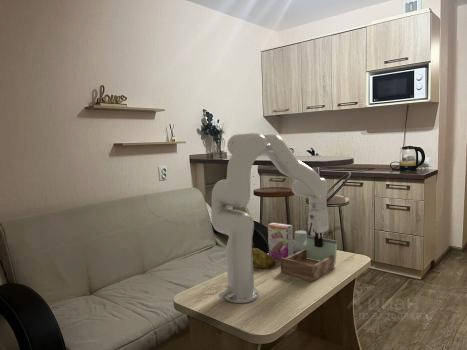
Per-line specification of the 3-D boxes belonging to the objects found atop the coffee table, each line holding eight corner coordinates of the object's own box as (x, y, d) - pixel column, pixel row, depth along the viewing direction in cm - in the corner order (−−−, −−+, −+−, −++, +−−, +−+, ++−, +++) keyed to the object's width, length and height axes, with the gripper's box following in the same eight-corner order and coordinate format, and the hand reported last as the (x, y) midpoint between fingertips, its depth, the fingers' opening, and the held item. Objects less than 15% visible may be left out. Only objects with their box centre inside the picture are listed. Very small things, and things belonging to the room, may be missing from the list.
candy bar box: (268, 257, 165) (266, 224, 163) (274, 254, 169) (272, 222, 167) (288, 262, 158) (287, 227, 156) (294, 259, 162) (292, 224, 160)
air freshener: (301, 256, 165) (301, 235, 164) (287, 252, 171) (287, 233, 170) (314, 250, 172) (313, 230, 171) (300, 247, 178) (300, 228, 177)
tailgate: (334, 264, 148) (336, 241, 149) (305, 257, 159) (306, 235, 159) (335, 264, 149) (337, 241, 150) (306, 257, 159) (308, 235, 160)
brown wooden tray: (311, 281, 135) (311, 265, 135) (280, 272, 146) (280, 257, 145) (334, 268, 148) (334, 253, 147) (304, 260, 159) (304, 247, 158)
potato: (267, 272, 147) (266, 254, 146) (243, 266, 155) (242, 249, 154) (277, 266, 153) (277, 249, 152) (254, 261, 161) (253, 244, 161)
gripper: (316, 209, 143) (317, 252, 145) (334, 203, 153) (334, 244, 155) (300, 207, 148) (301, 249, 150) (319, 202, 159) (319, 241, 160)
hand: (318, 246), depth 153 cm, fingers closed
